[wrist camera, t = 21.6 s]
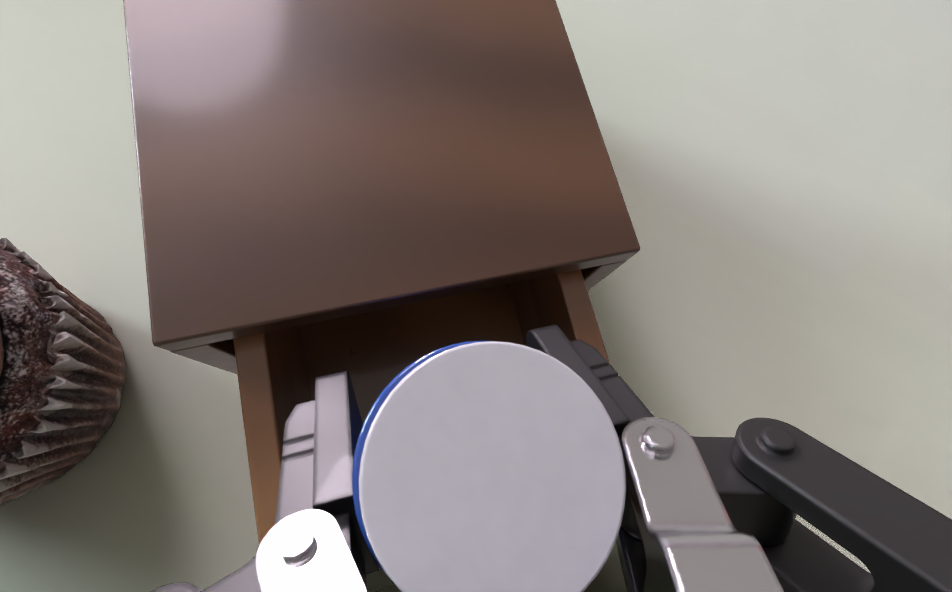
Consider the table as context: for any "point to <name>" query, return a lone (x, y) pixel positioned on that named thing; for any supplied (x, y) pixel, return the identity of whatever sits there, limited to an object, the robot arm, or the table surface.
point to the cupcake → (50, 376)
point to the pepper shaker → (489, 474)
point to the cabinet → (358, 160)
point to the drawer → (393, 365)
